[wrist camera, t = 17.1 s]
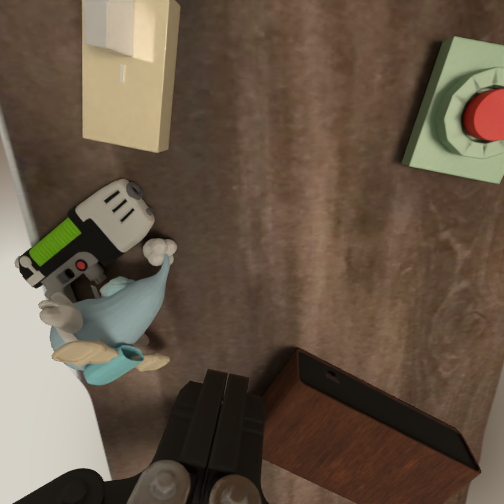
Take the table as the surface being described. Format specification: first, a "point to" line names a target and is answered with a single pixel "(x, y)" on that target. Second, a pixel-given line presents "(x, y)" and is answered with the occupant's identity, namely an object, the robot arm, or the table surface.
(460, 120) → the button box
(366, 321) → the table surface
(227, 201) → the table surface
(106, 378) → the toy figure
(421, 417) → the alarm clock
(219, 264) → the table surface
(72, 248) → the toy gun
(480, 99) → the stop button
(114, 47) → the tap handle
